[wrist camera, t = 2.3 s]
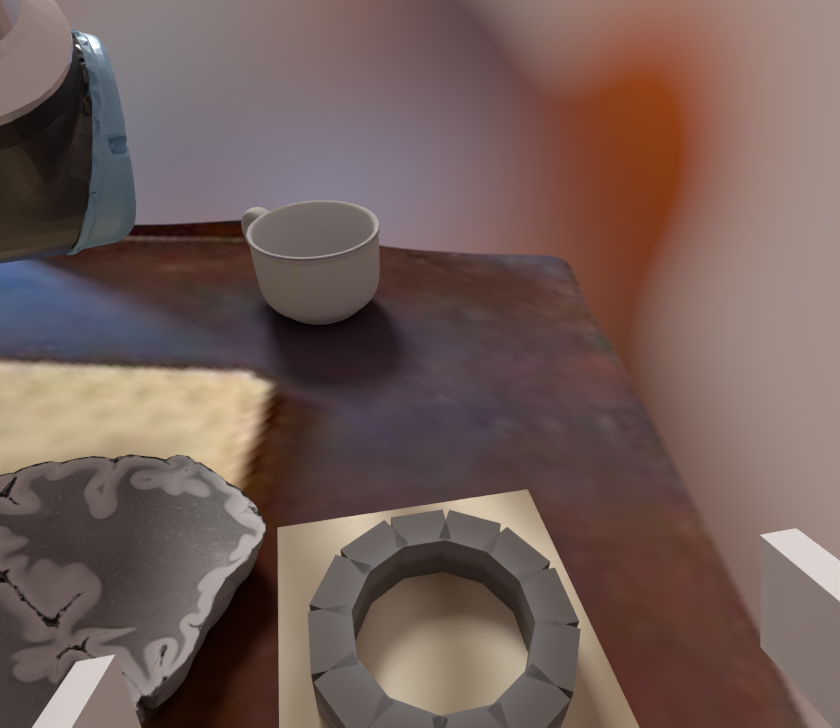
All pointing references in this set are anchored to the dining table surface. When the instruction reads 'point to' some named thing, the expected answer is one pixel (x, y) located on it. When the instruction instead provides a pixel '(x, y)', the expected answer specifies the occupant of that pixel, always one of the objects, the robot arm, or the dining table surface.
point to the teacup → (315, 258)
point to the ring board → (437, 623)
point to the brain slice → (115, 572)
